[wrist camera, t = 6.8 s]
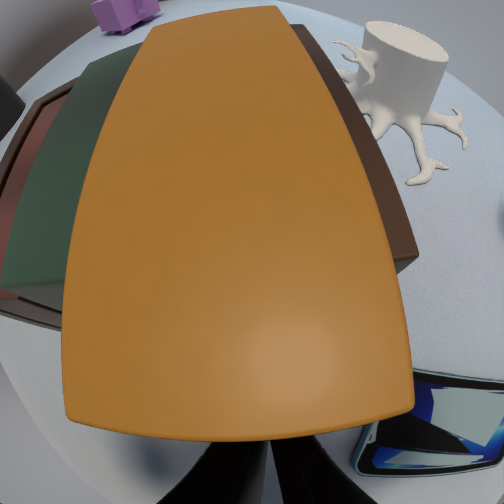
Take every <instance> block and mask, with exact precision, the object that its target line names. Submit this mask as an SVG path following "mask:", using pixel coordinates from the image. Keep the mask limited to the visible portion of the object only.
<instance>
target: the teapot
mask: <svg viewBox="0 0 504 504" xmlns="http://www.w3.org/2000/svg"><path fill="white" fill-rule="evenodd" d="M91 7H92V10H93V12H94V14H95V17H96V19H97V21H98V23H99V25H100V28H101V30H102V31H112V32H111V34H114V33H116V32H118V31H121V34H125V33H127V32H129V31H131V30H132V28H131V26H132V25H134V24H135V23H137V22H139V21H141V20H142V21H143V22H147V21H150V20H152V19H153V18H154V17H152V16H151V15H153V14H155V13H157V12H160V11H161V10H160V7H159V4H158V1H157V0H98V1H96V2H94V3H93V4H91Z"/></svg>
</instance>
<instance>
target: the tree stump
mask: <svg viewBox="0 0 504 504" xmlns="http://www.w3.org/2000/svg"><path fill="white" fill-rule="evenodd" d="M334 43H340V44H342V45H344V46H346V47H347V48H349V49H350V50H351V51H352V52H353V53H354V54H355V59H353V58H348V57H346V56H345V55H343V54H342V56H343V58H344V59H346V60H348V61H350V62H354V63H357V64H359V69H358V73H351V72H347V71H343V70H339V69H336V71H337V72H338V74H339V75H340V77H341V78H342V79H343V80H345V81H346V82H348V83H349V84H345V85H346V86H347V88H348V90H349V91H350V93H351V95H352V97H353V98H354V100H355V102H356V104H357V105H358V107H359V109H360V111H361V112H362V114H363V113H368V114H369V115H370V117H371V119H372V127H371V132H372V134H373V136H374V138H375V140H378V139H379V138H380V137H382V136H383V135H384V133H385V132H387V130H388V128H389V127H390V126H391V125H393V124H394V123H395V124H397V125H400V126H401V127H402V128H404V129H405V130H406V131H407V133H408V134H409V135H410V136H411V138H412V140H413V143H414V147H415V154H416V156H417V158H418V161H419V164H420V167H421V172H420V173H419V174H418V175H417V176H415V177H412V178H411V179H408V180H407V181H406V184H408V185H418V184H424V183H426V182H428V181H429V180H430V179H431V177H432V174H433V173H434V169H435V168H436V167H437V168H441V169H449V167H448V166H447V165H445V164H443V163H440V162H439V161H437V160H436V159H428V157H427V155H426V153H425V148H424V138H423V133H422V129H421V124H429V125H430V124H431V125H438V126H443V127H444V128H447V130H449V131H451V132H453V133H455V134H458V135H459V136H460V137H461V139H462V140H463V149H466V147H467V146H468V141H467V138H466V136H465V134H464V133H463V132H462V131H461V130H460V129H459V126H460V125H461V123H462V122H463V117H462V114H461V112H460V111H459V110H457V109H456V108H452V109H453V110H454V111H455V112H456V113H457V115H456V116H446V115H442V114H439V113H436V112H434V111H433V110H431V108H430V106H431V103H432V101H433V99H434V96H435V94H436V91H437V89H438V87H439V84H440V81H441V79H442V76H443V74H444V71H445V68H446V66H447V63H448V60H449V56H448V54H447V53H446V52H445V50H444V49H442V48H441V46H440V45H439V44H437V43H436V42H434V41H433V40H431V39H429V38H427V37H426V36H424V35H422V34H421V33H418V32H417V31H414V30H411V29H410V28H407V27H404V26H400V25H398V24H394V23H389V22H385V21H371V22H367V23H366V25H365V31H364V38H363V44H362V48H360V47H357V46H354V45H352V44H350V43H347V42H343V41H334Z"/></svg>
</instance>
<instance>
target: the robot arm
mask: <svg viewBox="0 0 504 504" xmlns="http://www.w3.org/2000/svg"><path fill="white" fill-rule="evenodd" d="M270 443H271V448H272V452H273V457H274V461H275V466H276V471H277V475H278V480H279V484H280V489H281V493H282V497H283V502H284V504H378V503H377V502H375V501H374V500H373V499H372V498H371V497H370V496H368V495H367V494H366V493H365V492H364V491H363V490H362V489H360V488H359V487H358V486H357V485H356V484H355V483H354V482H353V481H352V480H351V479H349V478H348V477H347V476H346V475H345V474H344V472H343V471H342V470H341V469H340V468H339V467H338V466H337V465H336V464H335V463H334V461H333V460H332V459H331V458H330V456H329V455H328V454H327V452H326V451H325V450H324V448H322V446H321V445H320V443H319V442H318V441H317V439H316V438H315V436H314V435H310V436H303V437H295V438H286V439H276V440H270ZM267 448H268V440H264V441H245V442H212V443H211V444H210V445H209V447H208V448H207V449H206V451H205V452H204V455H202V456H201V457H200V458H199V460H198V461H197V462H196V464H195V465H194V466H193V467H192V469H191V470H190V471H189V472H188V474H187V475H186V476H185V477H184V478H183V479H182V480H181V481H180V482H179V483H178V484H177V485H176V486H175V487H174V488H173V489H172V490H171V491H170V492H169V493H168V494H166V495H165V496H164V497H163V498H162V499H161V500H160V501H159V502H158V503H156V504H261V498H262V491H263V483H264V474H265V466H266V457H267ZM0 504H1V503H0ZM503 504H504V503H503Z"/></svg>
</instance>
